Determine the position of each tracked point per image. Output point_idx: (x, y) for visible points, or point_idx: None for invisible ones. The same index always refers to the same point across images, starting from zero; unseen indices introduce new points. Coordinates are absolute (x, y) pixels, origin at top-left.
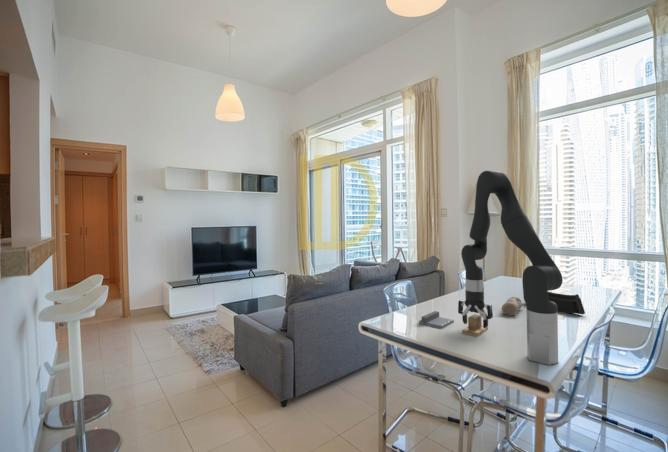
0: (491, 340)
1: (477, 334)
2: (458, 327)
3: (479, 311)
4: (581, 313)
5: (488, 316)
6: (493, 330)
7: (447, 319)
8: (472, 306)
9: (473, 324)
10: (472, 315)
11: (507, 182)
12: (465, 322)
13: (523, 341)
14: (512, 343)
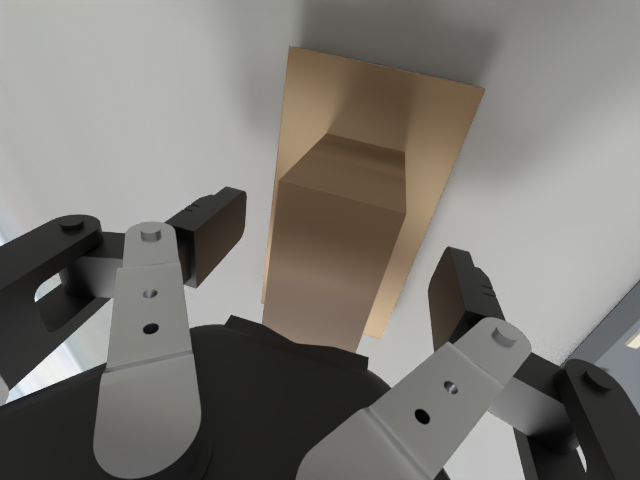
0: (159, 5)
1: (291, 49)
2: (513, 264)
3: (151, 309)
4: None
5: (68, 239)
6: (234, 284)
7: (637, 396)
8: (288, 475)
9: (331, 158)
10: (354, 338)
11: None
12: (448, 257)
13: (4, 133)
14: (14, 30)
